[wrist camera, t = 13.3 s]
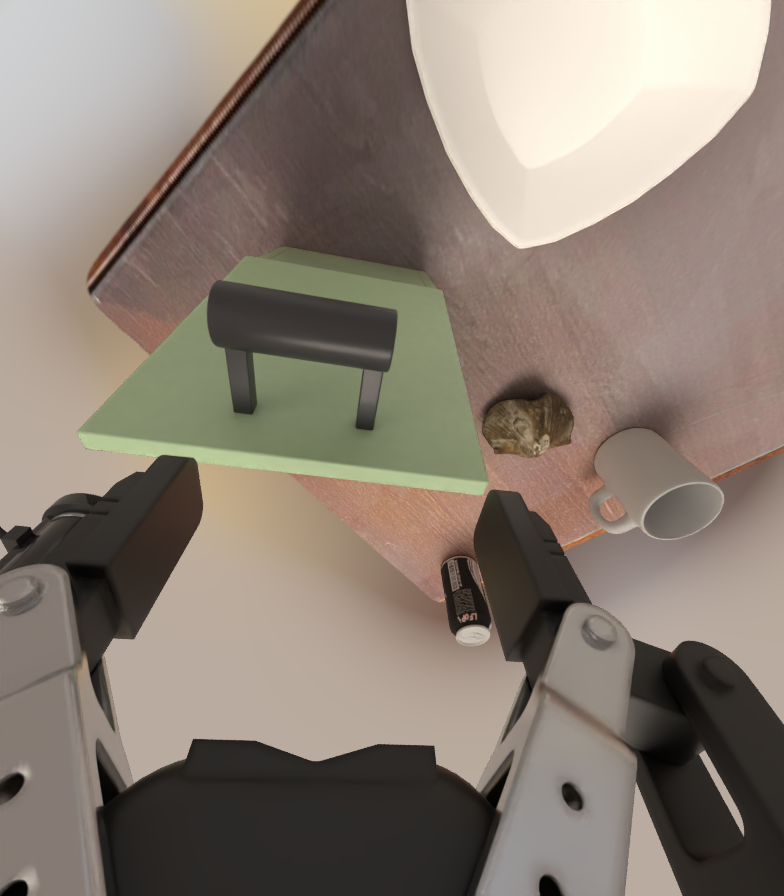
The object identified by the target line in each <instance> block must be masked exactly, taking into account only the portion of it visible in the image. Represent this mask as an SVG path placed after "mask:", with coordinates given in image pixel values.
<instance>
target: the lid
mask: <svg viewBox="0 0 784 896" xmlns="http://www.w3.org/2000/svg"><path fill="white" fill-rule="evenodd" d="M77 434H78V436H79V438H80V440H81V442H82V444H83V446H84V447H85V448H86V449H93V450H100V451H109V452H118V453H126V454H134V455H143V456H151V457H159V456H161V455H172V456H182V457H191V458H195V460H196V461H197V462H202V463H210V464H219V465H227V466H236V467H244V468H252V469H261V470H269V471H278V472H286V473H295V474H303V475H311V476H320V477H328V478H337V479H345V480H354V481H362V482H371V483H379V484H388V485H396V486H404V487H413V488H421V489H430V490H438V491H447V492H455V493H464V494H472V495H480V496H481V495H483V493H484V491H485V489H486V487H487V485H488V483H489V480H488V476H487V472H486V468H485V464H484V460H483V456H482V451H481V447H480V443H479V439H478V435H477V431H476V427H475V423H474V419H473V415H472V410H471V406H470V402H469V398H468V394H467V390H466V386H465V382H464V378H463V373H462V369H461V365H460V361H459V357H458V353H457V349H456V345H455V341H454V337H453V332H452V328H451V324H450V320H449V316H448V312H447V308H446V304H445V300H444V296H443V291H442V290H439V289H434V288H428V287H422V286H417V285H411V284H405V283H400V282H394V281H388V280H383V279H377V278H371V277H366V276H360V275H354V274H349V273H343V272H337V271H332V270H326V269H320V268H315V267H309V266H303V265H298V264H292V263H286V262H281V261H275V260H269V259H264V258H258V257H252V256H245V257H244V258H243V259H242V260H241V261H240V262H239V263H238V264H237V265H236V267H235V268H234V269H233V270H232V271H231V272H230V273H229V274H228V275H227V276H226V277H225V278H224V279H223V280H219V281H216V282H215V283H214V284H213V286H212V288H211V290H210V293H209V295H208V296H207V297H206V298H205V299H204V300H203V301H202V302H201V303H200V304H199V305H198V306H197V307H196V308H195V309H194V310H193V311H192V312H191V313H190V314H189V315H188V316H187V317H186V319H185V320H184V321H183V322H182V323H181V324H180V325H179V326H178V327H177V328H176V329H175V330H174V331H173V332H172V333H171V334H170V335H169V336H168V337H167V338H166V339H165V340H164V341H163V342H162V343H161V345H160V346H159V347H158V348H157V349H156V350H155V351H154V352H153V353H152V354H151V355H150V356H149V357H148V358H147V359H146V360H145V361H144V362H143V363H142V364H141V365H140V366H139V367H138V368H137V370H136V371H135V372H134V373H133V374H132V375H131V376H130V377H129V378H128V379H127V380H126V381H125V382H124V383H123V384H122V385H121V386H120V387H119V388H118V389H117V390H116V391H115V392H114V393H113V394H112V395H111V397H110V398H109V399H108V400H107V401H106V402H105V403H104V404H103V405H102V406H101V407H100V408H99V409H98V410H97V411H96V412H95V413H94V414H93V415H92V416H91V417H90V418H89V419H88V420H87V422H85V424H84V425H83V426H82V427H81V428H80V429H79V430H78V431H77Z"/></svg>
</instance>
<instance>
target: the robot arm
mask: <svg viewBox="0 0 784 896" xmlns="http://www.w3.org/2000/svg"><path fill="white" fill-rule="evenodd" d="M202 511H203V500H202V493H201V486H200V479H199V472H198V465H197V461H196V460H195V458H191V457H182V456H172V455H161V456H159V457H158V458H157V459H156V460H155V461H154V463H153V464H152V465H151V466H150V467H149V468H148V470H146V472H135V473H133V474H132V475H130V476H128V477H126V478H125V479H123V480H121V481H119V482H117V483H116V484H115V485H114V486H113V487H112V488H111V489H110V490H109V491H108V492H107V493H106V494H105V495H104V496H103V497H102V500H101V501H98V503H97V504H96V505H95V506H94V507H93V508H92V509H91V510H90V513H89V512H85V511H78V510H71V511H64V512H61V513H59V514H57V515H56V516H47V517H46V518H45V519H44V520H43V521H42V522H41V523H40V524H39V525H38V526H37V527H35V528H34V529H33V530H32V529H31V527H24V526H15V527H14V528H12V529H11V530H10V531H9V532H8V533H7V532H6V531H4V530H3V529H2V528H1V527H0V539H1V541H2V543H3V544H4V546H5V548H6V550H7V552H8V554H7V555H5V556H4V557H3V558H2V559H1V560H0V896H625V886H626V876H627V865H628V855H629V845H630V835H631V824H632V814H633V804H634V794H635V784H636V782H637V785H638V787H639V790H640V792H641V795H642V797H643V799H644V802H645V804H646V807H647V809H648V812H649V814H650V817H651V819H652V821H653V824H654V827H655V829H656V831H657V834H658V836H659V839H660V841H661V844H662V846H663V849H664V851H665V853H666V856H667V858H668V861H669V863H670V866H671V868H672V871H673V873H674V876H675V878H676V881H677V883H678V885H679V888H680V890H681V893H682V895H683V896H784V724H783V723H782V722H781V720H780V719H779V718H778V716H777V715H776V714H775V712H774V711H773V710H772V708H771V707H770V706H769V704H768V703H767V702H766V700H765V699H764V697H763V696H762V695H761V694H760V692H759V691H758V689H757V688H756V687H755V685H754V684H753V683H752V681H751V680H750V679H749V677H748V676H747V675H746V674H745V673H744V672H743V670H742V669H741V668H740V667H739V666H738V665H737V664H735V663H734V662H733V661H732V660H731V659H730V658H728V657H727V656H726V655H724V654H723V653H721V652H720V651H718V650H716V649H714V648H713V647H711V646H708V645H706V644H703V643H700V642H696V641H684V642H682V643H681V644H679V645H678V647H677V648H676V649H675V650H674V651H673V652H672V653H671V652H668V651H666V650H663V649H660V648H657V647H654V646H652V645H649V644H646V643H643V642H641V641H638V640H635V639H633V638H632V637H631V636H630V634H629V632H628V631H627V630H626V628H625V627H624V626H623V625H622V623H621V622H620V621H618V620H617V619H616V618H615V617H614V616H612V615H611V614H610V613H609V612H607V611H605V610H604V609H602V608H600V607H598V606H595V605H592V603H591V601H590V600H589V597H588V596H587V594H586V592H585V590H584V588H583V586H582V585H581V583H580V581H579V579H578V577H577V575H576V574H575V572H574V570H573V568H572V566H571V564H570V562H569V561H568V559H567V557H566V556H564V551H563V550H562V548H561V546H560V544H559V543H557V541H558V540H557V539H556V537H555V535H554V533H553V531H552V529H551V528H550V526H549V525H548V524H547V523H546V522H545V521H544V520H543V519H542V518H541V517H540V516H539V515H538V514H537V513H536V512H533V511H529V510H528V508H527V506H526V504H525V502H524V500H523V498H522V496H521V495H520V493H518V492H511V491H502V490H491V491H490V492H489V493H488V495H487V498H486V500H485V503H484V506H483V509H482V511H481V514H480V517H479V520H478V522H477V525H476V528H475V532H474V550H475V554H476V557H477V561H478V564H479V568H480V571H481V575H482V578H483V582H484V585H485V589H486V592H487V596H488V600H489V603H490V607H491V610H492V614H493V617H494V621H495V624H496V628H497V631H498V635H499V638H500V641H501V645H502V649H503V652H504V656H505V659H506V661H514V662H523V664H524V667H525V670H526V674H525V676H524V678H523V679H522V682H521V684H520V687H519V690H518V692H517V694H516V697H515V700H514V702H513V705H512V707H511V710H510V712H509V715H508V717H507V720H506V722H505V725H504V727H503V730H502V732H501V735H500V737H499V740H498V742H497V745H496V748H495V750H494V752H493V754H492V756H491V758H490V760H489V762H488V764H487V766H486V768H485V770H484V772H483V774H482V776H481V778H480V780H479V783H478V785H477V787H476V789H475V788H474V787H473V786H472V785H471V784H470V783H468V782H467V781H465V780H464V779H462V778H461V777H460V776H458V775H457V774H455V773H453V772H451V771H449V770H448V769H446V768H444V767H441V766H439V765H436V758H435V750H434V749H435V748H434V746H424V745H421V746H420V745H388V744H387V745H386V744H377V745H374V746H370V747H367V748H364V749H360V750H357V751H353V752H350V753H347V754H343V755H340V756H336V757H333V758H329V759H326V760H323V761H310V760H307V759H304V758H301V757H299V756H296V755H293V754H290V753H288V752H285V751H282V750H279V749H277V748H274V747H271V746H268V745H265V744H263V743H260V742H257V741H244V740H208V739H207V740H206V739H193V741H192V744H191V747H190V750H189V753H188V755H187V758H186V759H185V760H181V761H177V762H175V763H172V764H170V765H167V766H165V767H162V768H160V769H158V770H156V771H155V772H153V773H151V774H149V775H147V776H145V777H143V778H141V779H140V780H138V781H137V782H135V783H133V779H132V775H131V771H130V767H129V764H128V761H127V757H126V754H125V751H124V748H123V745H122V741H121V737H120V732H119V727H118V722H117V717H116V712H115V707H114V702H113V696H112V691H111V686H110V681H109V676H108V671H107V666H106V661H105V657H104V655H103V654H104V652H105V651H106V649H107V647H108V646H109V644H110V642H111V641H112V639H113V638H118V639H134V638H135V637H136V635H137V633H138V631H139V629H140V628H141V626H142V624H143V622H144V621H145V619H146V617H147V615H148V614H149V612H150V610H151V608H152V607H153V605H154V603H155V601H156V600H157V598H158V596H159V594H160V592H161V591H162V589H163V587H164V585H165V584H166V582H167V580H168V578H169V577H170V575H171V573H172V571H173V570H174V567H175V566H176V564H177V563H178V561H179V559H180V557H181V555H182V554H183V552H184V550H185V548H186V547H187V545H188V543H189V541H190V540H191V538H192V536H193V534H194V532H195V531H196V529H197V527H198V525H199V523H200V520H201V517H202ZM704 750H705V751H706V752H707V754H708V756H709V758H710V759H711V761H712V763H713V765H714V767H715V768H716V770H717V772H718V774H719V776H720V777H721V779H722V781H723V783H724V784H725V786H726V788H727V790H728V792H729V793H730V795H731V797H732V799H733V801H734V802H735V804H736V806H737V808H738V810H739V812H740V815H741V817H742V820H743V824H744V836H743V835H742V833H741V831H740V829H739V827H738V825H737V824H736V822H735V820H734V818H733V816H732V814H731V813H730V811H729V809H728V807H727V805H726V804H725V802H724V800H723V798H722V796H721V794H720V792H719V791H718V789H717V787H716V785H715V783H714V781H713V780H712V778H711V776H710V774H709V772H708V770H707V768H706V767H705V765H704V763H703V761H702V759H701V757H700V756H699V754H700V753H701V752H703V751H704Z"/></svg>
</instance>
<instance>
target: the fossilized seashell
mask: <svg viewBox="0 0 784 896" xmlns="http://www.w3.org/2000/svg"><path fill="white" fill-rule="evenodd" d="M573 426H574V420H573V415H572V412H571V411H570V409H569V407H567V405H566V404H565V403H564V402H563V401H562V400H561V399H560V398H559V397H557V396H556V395H554V394H551V393H544V394H543V395H541V396H540V397H539V398H537V399H536V400H526V399H521V398H516V399H509V400H504V401H499V402H498V403H497V404H495V405H494V406H493V407H492V408H490V410H489V411H488V412H487V416H486V417H485V419H484V421H483V426H482V433H483V435H484V437H485V438H486V440H487V441H488V443H489V444H490V445H491V447H492V448H493V449H494V451H495V452H494V453H495V454H514V455H519V456H522V457H527V458H532V457H538V456H540V455H541V454H543V453H544V452H545V451H546V449H549V448H554V447H558V446H564V445H568V444H570V443H571V439H570V437H571V432H572V429H573Z"/></svg>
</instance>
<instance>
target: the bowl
mask: <svg viewBox="0 0 784 896" xmlns="http://www.w3.org/2000/svg"><path fill="white" fill-rule="evenodd" d="M406 4H407V13H408V21H409V29H410V37H411V45H412V52H413V55H414V59H415V62H416V66H417V69H418V73H419V76H420V80H421V84H422V87H423V91H424V94H425V98H426V101H427V104H428V106H429V109H430V112H431V114H432V117H433V119H434V122H435V125H436V127H437V130H438V133H439V135H440V138H441V140H442V143H443V146H444V148H445V151H446V154H447V155H448V157H449V159H450V161H451V163H452V164H453V166H454V168H455V170H456V172H457V173H458V175H459V177H460V179H461V181H462V182H463V184H464V186H465V188H466V190H467V192H468V193H469V195H470V197H471V198H472V200H473V201H474V203H475V204H476V205H477V207H478V208H479V210H480V211H481V212H482V214H483V215H484V217H485V218H486V219H487V221H488V222H489V224H490V225H491V226H492V227H493V228H494V229H495V230H496V231H498V232H499V233H500V234H501V235H502V236H503V237H504V238H506V239H507V240H508V241H509V242H510V243H511V244H512V245H514V246H515V247H517V248H519V249H525V248H530V247H534V246H539V245H543V244H548V243H552V242H556V241H558V240H560V239H563V238H565V237H567V236H569V235H571V234H573V233H576V232H578V231H580V230H582V229H584V228H586V227H589V226H591V225H593V224H595V223H597V222H599V221H600V220H602V219H604V218H606V217H607V216H609V215H611V214H613V213H614V212H616V211H618V210H620V209H622V208H623V207H625V206H627V205H629V204H630V203H632V202H634V201H635V200H636V199H638V198H639V197H640V196H642V195H643V194H645V193H646V192H647V191H649V190H650V189H651V188H653V187H654V186H655V185H657V184H658V183H659V182H661V181H662V180H663V179H665V178H666V177H668V176H669V175H670V174H672V173H673V172H674V171H675V170H676V169H678V168H679V167H680V166H681V165H682V164H683V163H685V162H686V161H687V160H688V159H689V158H690V157H692V156H693V155H694V154H695V153H696V152H698V151H699V150H700V149H701V148H702V147H703V146H705V145H706V144H707V143H708V142H709V141H711V140H712V139H713V138H714V137H715V136H716V135H717V134H718V133H719V131H720V130H721V129H722V128H723V127H724V126H725V125H726V123H727V122H728V121H729V120H730V119H731V118H732V117H733V115H734V114H735V113H736V112H737V111H738V110H739V109H740V108H741V106H742V105H743V104H744V103H745V102H746V101H747V100H748V98H749V97H750V95H751V94H752V93H753V91H754V88H755V86H756V83H757V79H758V75H759V70H760V66H761V62H762V58H763V53H764V49H765V45H766V41H767V36H768V32H769V23H770V10H771V0H406Z"/></svg>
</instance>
